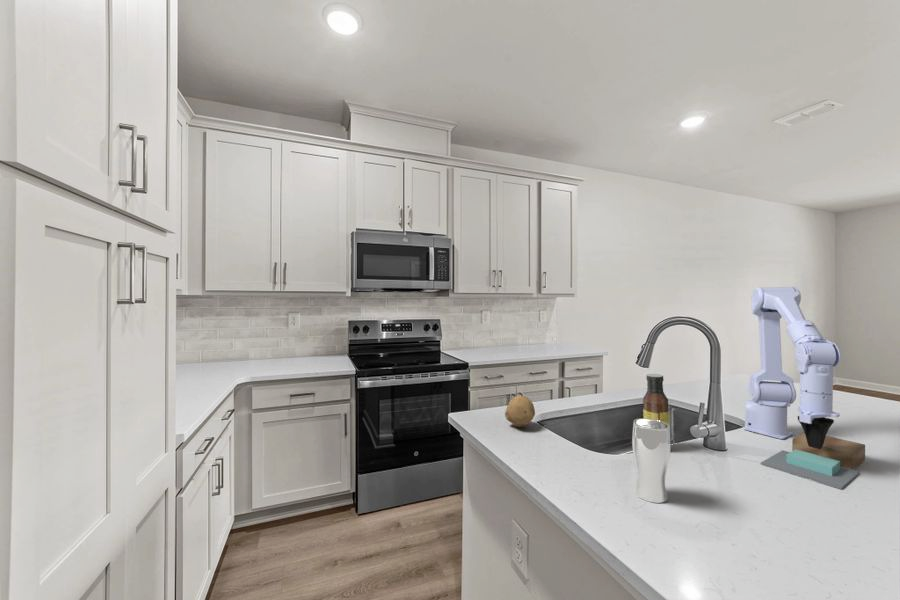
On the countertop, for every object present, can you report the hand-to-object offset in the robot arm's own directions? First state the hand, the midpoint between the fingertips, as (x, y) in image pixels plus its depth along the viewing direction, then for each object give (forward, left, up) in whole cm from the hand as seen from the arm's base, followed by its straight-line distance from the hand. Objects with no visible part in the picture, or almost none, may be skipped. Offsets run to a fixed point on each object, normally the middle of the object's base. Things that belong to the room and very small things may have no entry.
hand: (815, 447), depth 90 cm
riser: (0, +10, -5) cm, 11 cm away
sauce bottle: (-26, -22, -5) cm, 35 cm away
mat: (0, -3, -5) cm, 6 cm away
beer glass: (-13, -47, -5) cm, 49 cm away
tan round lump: (-57, -43, -5) cm, 72 cm away
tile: (0, -2, -2) cm, 3 cm away
